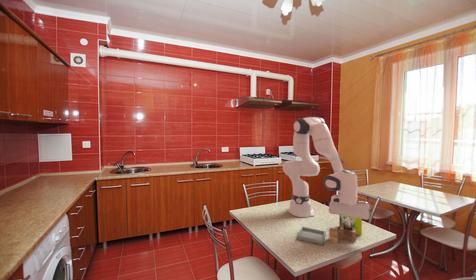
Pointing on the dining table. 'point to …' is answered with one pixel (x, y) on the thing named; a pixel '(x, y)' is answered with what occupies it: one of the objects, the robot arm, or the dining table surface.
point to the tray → (311, 235)
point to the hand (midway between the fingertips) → (347, 223)
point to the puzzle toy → (356, 224)
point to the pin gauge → (347, 223)
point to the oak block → (333, 235)
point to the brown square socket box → (348, 233)
